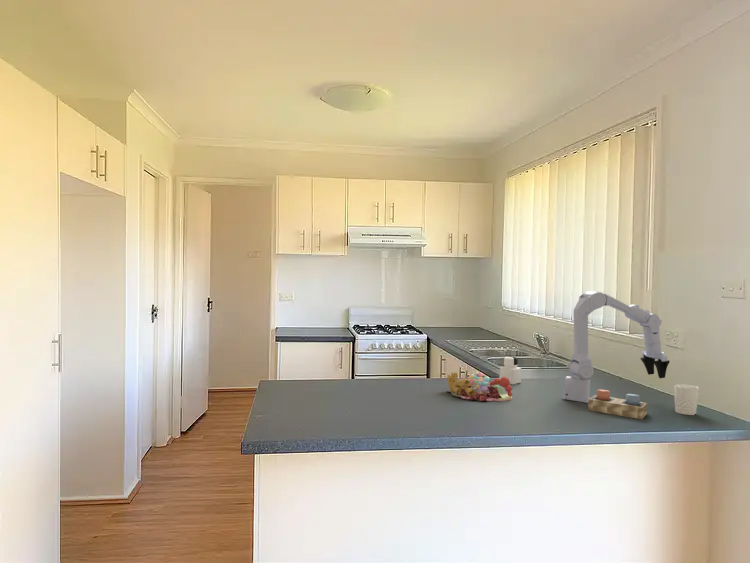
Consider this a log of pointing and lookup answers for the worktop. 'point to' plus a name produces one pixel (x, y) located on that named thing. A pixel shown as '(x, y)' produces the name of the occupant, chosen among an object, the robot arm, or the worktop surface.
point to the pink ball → (603, 395)
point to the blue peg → (632, 399)
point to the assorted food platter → (479, 387)
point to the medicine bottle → (511, 370)
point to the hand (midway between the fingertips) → (656, 376)
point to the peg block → (617, 407)
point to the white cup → (686, 399)
